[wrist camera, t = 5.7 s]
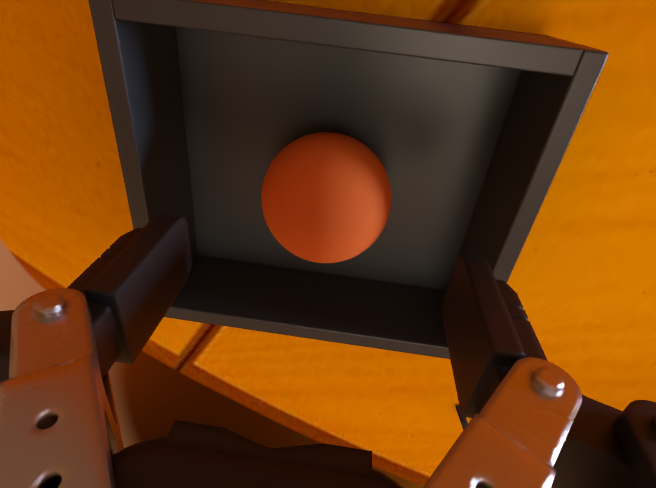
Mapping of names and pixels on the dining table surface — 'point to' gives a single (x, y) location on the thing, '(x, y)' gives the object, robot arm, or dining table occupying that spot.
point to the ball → (326, 197)
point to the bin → (344, 118)
